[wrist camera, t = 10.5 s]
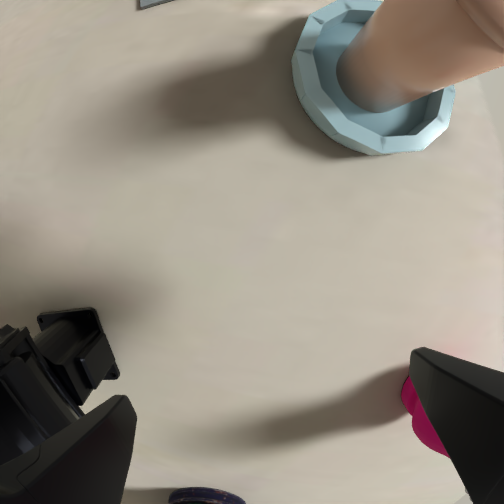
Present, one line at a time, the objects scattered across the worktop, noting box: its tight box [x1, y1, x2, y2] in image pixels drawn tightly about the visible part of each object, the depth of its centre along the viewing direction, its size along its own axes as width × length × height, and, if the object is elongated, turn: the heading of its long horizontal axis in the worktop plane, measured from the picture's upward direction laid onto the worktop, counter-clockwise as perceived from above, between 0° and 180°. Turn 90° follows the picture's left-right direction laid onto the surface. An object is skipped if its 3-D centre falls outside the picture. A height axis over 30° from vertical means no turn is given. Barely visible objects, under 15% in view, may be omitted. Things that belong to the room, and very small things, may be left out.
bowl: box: [291, 0, 455, 156], centre depth 17 cm, size 11×11×3 cm
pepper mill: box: [401, 375, 472, 501], centre depth 14 cm, size 7×7×20 cm
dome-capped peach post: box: [336, 0, 504, 113], centre depth 11 cm, size 5×5×14 cm
